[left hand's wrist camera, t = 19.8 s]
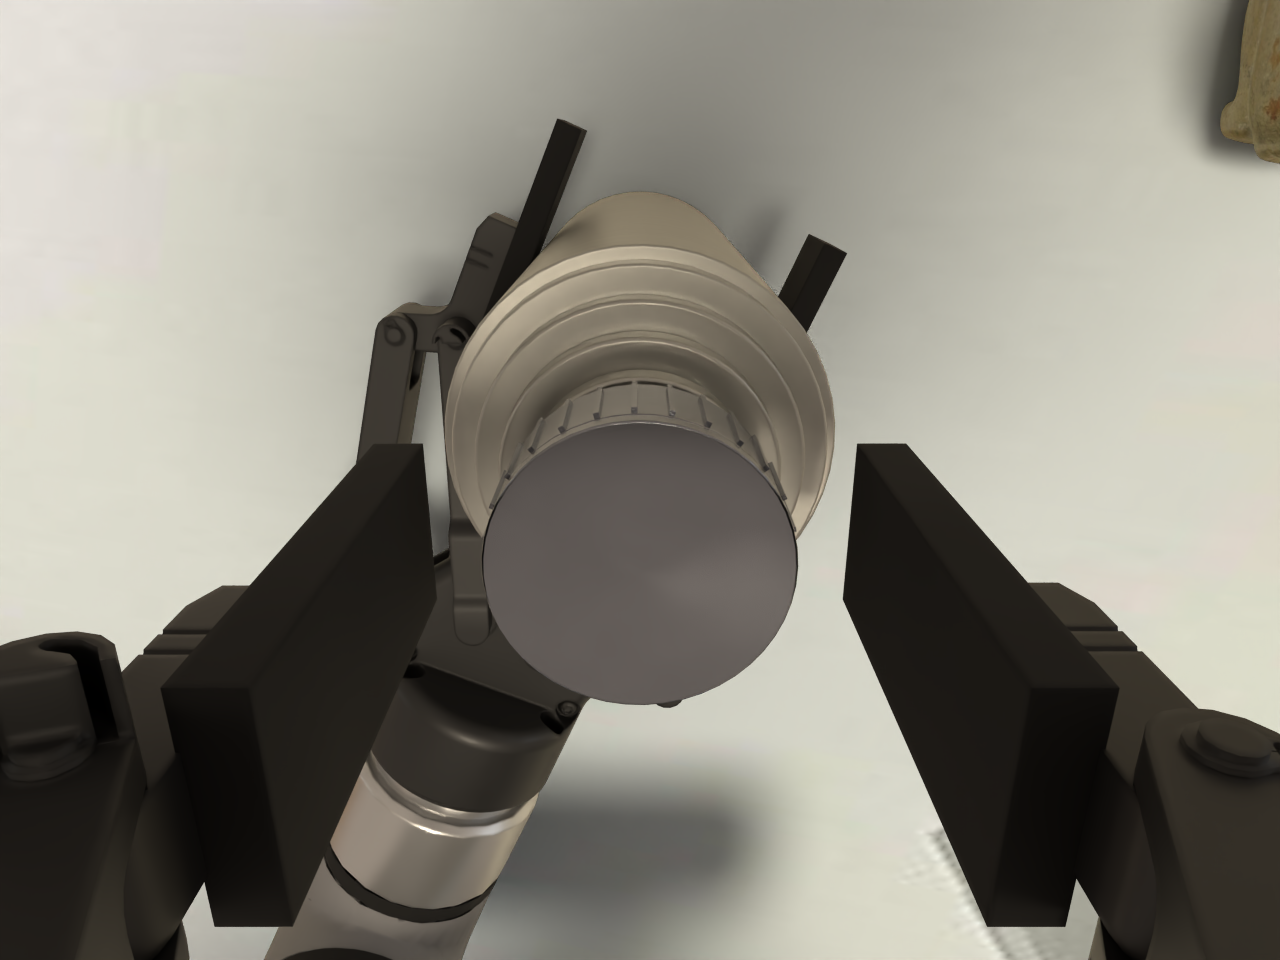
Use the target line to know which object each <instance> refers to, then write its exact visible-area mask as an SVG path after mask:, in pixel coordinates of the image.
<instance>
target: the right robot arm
mask: <svg viewBox="0 0 1280 960" xmlns="http://www.w3.org/2000/svg"><path fill="white" fill-rule="evenodd" d="M586 132H587V131H586V130H584V129H582V128H580V127H578V126H576V125H573V124H571V123H569V122H567V121H565V120H561V119H557V121H556V124H555V126H554V129H553V132H552V134H551V137H550V140H549V142H548V145H547V148H546V150H545V153H544V156H543V158H542V161H541V164H540V166H539V169H538V172H537V174H536V177H535V180H534V182H533V185H532V188H531V190H530V193H529V196H528V198H527V201H526V204H525V206H524V209H523V212H522V214H521V217H520V220H519V222H516V221H514V220H512V219H510V218H507V217H505V216H503V215H501V214H498V213H496V212H495V213H493V214H491V215H489V216H488V217H487V218H486V219H485V220H484V221H483V222H482V224H481V225H480V226H479V227H478V228H477V229H476V232H475V235H474V238H473V241H472V243H471V247H470V249H469V252H468V255H467V257H466V260H465V263H464V266H463V268H462V271H461V274H460V277H459V280H458V282H457V285H456V288H455V291H454V294H453V296H452V299H451V301H450V303H449V305H446V306H440V307H435V306H422V305H420V304H418V303H410V302H409V303H406V304H403V305H402V306H400V307H399V308H397V309H396V310H394V311H393V312H391V313H390V314H389V315H387V316H386V317H384V318H383V319H382V320H381V321H380V322H379V323H378V325H377V328H376V331H375V338H374V345H373V351H372V358H371V365H370V372H369V379H368V386H367V393H366V400H365V406H364V413H363V420H362V427H361V434H360V441H359V448H358V455H357V461H356V464H357V462H358V461H359V460H360V459H361V458H362V457H363V456H364V454H365V453H366V452H367V451H368V450H369V449H370V448H371V446H372V445H373V444H411V440H412V434H413V428H414V422H415V416H416V410H417V404H418V398H419V392H420V386H421V380H422V374H423V368H424V362H425V356H426V352H437V353H438V361H439V374H440V387H441V400H442V413H443V426H444V439H445V413H446V406H447V399H448V392H449V389H450V385H451V382H452V378H453V375H454V372H455V368H456V366H457V364H458V361H459V359H460V357H461V355H462V352H463V350H464V348H465V346H466V344H467V342H468V341H469V339H470V338H471V336H472V334H473V333H474V331H475V330H476V328H477V326H478V325H479V323H480V322H481V321H482V320H483V319H484V317H485V316H486V315H487V314H488V313H489V311H490V310H491V309H492V308H493V307H494V306H495V304H496V303H497V302H498V301H499V300H500V299H501V297H502V296H503V295H504V294H505V293H506V292H507V291H508V289H509V288H510V287H511V286H512V285H513V284H514V283H515V281H516V280H517V279H518V278H519V277H520V276H521V275H522V274H523V272H524V271H525V270H526V269H527V268H528V267H529V266H530V264H531V263H532V262H533V261H534V260H535V259H536V258H537V256H538V255H539V254H540V251H541V249H542V246H543V243H544V241H545V238H546V236H547V233H548V230H549V228H550V225H551V223H552V220H553V218H554V215H555V212H556V210H557V207H558V205H559V202H560V199H561V197H562V194H563V192H564V189H565V186H566V184H567V181H568V179H569V176H570V174H571V171H572V168H573V166H574V163H575V161H576V158H577V155H578V153H579V150H580V148H581V145H582V143H583V140H584V137H585V135H586ZM846 254H847V253H846V252H844V251H842V250H840V249H838V248H836V247H835V246H833V245H831V244H829V243H827V242H825V241H823V240H821V239H818V238H816V237H814V236H812V235H810V234H809V235H808V237H807V239H806V241H805V243H804V245H803V247H802V249H801V251H800V253H799V255H798V257H797V259H796V261H795V263H794V265H793V267H792V269H791V271H790V273H789V275H788V277H787V279H786V282H785V284H784V286H783V288H782V290H781V292H780V294H779V296H778V298H779V299H780V300H781V301H782V302H783V303H784V304H785V305H786V307H787V308H788V309H789V310H790V312H791V313H792V314H793V315H794V317H795V318H796V319H797V320H798V322H799V323H800V324H801V326H802V327H803V328H804V330H805V331H806V333H807V331H808V329H809V327H810V325H811V323H812V321H813V319H814V317H815V315H816V313H817V311H818V309H819V308H820V306H821V304H822V302H823V300H824V298H825V296H826V294H827V292H828V290H829V288H830V286H831V284H832V282H833V280H834V278H835V276H836V274H837V272H838V270H839V268H840V266H841V264H842V262H843V260H844V258H845V256H846ZM445 452H446V445H445ZM446 466H447V479H448V492H449V505H450V527H449V548H448V549H447V550H445V551H443V552H441V553H439V554H438V555H436V556H434V557H433V560H434V571H435V581H436V592H437V601H436V603H435V605H434V608H433V610H432V612H431V614H430V617H429V619H428V621H427V623H426V626H425V628H424V630H423V633H422V635H421V637H420V639H419V642H418V644H417V646H416V648H415V651H414V653H413V655H412V658H411V660H410V662H409V664H408V667H407V669H406V671H405V673H404V676H403V678H402V680H401V682H400V685H399V687H398V689H397V692H396V694H395V696H394V698H393V701H392V703H391V705H390V707H389V710H388V712H387V714H386V716H385V719H384V721H383V723H382V726H381V728H380V730H379V732H378V735H377V737H376V739H375V741H374V744H373V746H372V748H371V750H370V753H369V755H368V757H367V760H366V762H365V764H364V766H363V769H362V771H361V773H360V775H359V778H358V780H357V782H356V784H355V787H354V789H353V791H352V794H351V796H350V798H349V800H348V803H347V805H346V807H345V809H344V812H343V814H342V816H341V818H340V821H339V823H338V825H337V828H336V830H335V832H334V834H333V837H332V839H331V841H330V843H329V846H328V848H327V850H326V852H325V855H324V857H323V859H322V862H321V864H320V866H319V868H318V871H317V873H316V875H315V877H314V880H313V882H312V884H311V886H310V889H309V891H308V893H307V896H306V898H305V900H304V902H303V905H302V907H301V909H300V911H299V914H298V916H297V918H296V920H295V923H294V925H293V927H279V928H278V930H277V932H276V935H275V937H274V939H273V941H272V943H271V945H270V948H269V950H268V952H267V954H266V956H265V959H264V960H462V958H463V955H464V952H465V949H466V946H467V943H468V941H469V938H470V936H471V934H472V931H473V929H474V927H475V925H476V923H477V920H478V918H479V916H480V914H481V912H482V909H483V907H484V905H485V903H486V901H487V899H488V896H489V894H490V892H491V890H492V888H493V887H494V885H495V883H496V881H497V879H498V877H499V875H500V873H501V871H502V869H503V867H504V866H505V864H506V862H507V860H508V858H509V856H510V854H511V852H512V850H513V848H514V846H515V844H516V842H517V840H518V838H519V836H520V834H521V832H522V830H523V828H524V826H525V824H526V822H527V820H528V818H529V817H530V815H531V813H532V811H533V809H534V807H535V804H536V801H537V798H538V795H539V791H540V790H541V789H542V788H543V786H544V785H545V783H546V781H547V779H548V777H549V775H550V773H551V771H552V769H553V767H554V765H555V763H556V761H557V759H558V757H559V755H560V753H561V751H562V749H563V747H564V745H565V743H566V741H567V738H568V736H569V734H570V732H571V730H572V728H573V726H574V724H575V722H576V720H577V718H578V716H579V714H580V712H581V710H582V708H583V706H584V705H585V703H586V702H587V701H588V700H589V699H590V697H586V696H584V695H581V694H578V693H576V692H573V691H571V690H568V689H566V688H564V687H563V686H561V685H559V684H557V683H555V682H553V681H551V680H550V679H548V678H547V677H545V676H544V675H542V674H541V673H540V672H538V671H537V670H535V669H534V668H533V667H532V666H531V665H530V664H529V663H527V662H526V661H525V660H524V659H523V658H522V657H521V656H520V655H519V654H518V652H517V651H516V650H515V649H514V648H513V647H512V646H511V645H510V643H509V642H508V640H507V639H506V637H505V636H504V634H503V633H502V631H501V630H500V628H499V626H498V624H497V622H496V620H495V618H494V616H493V614H492V612H491V610H490V607H489V604H488V601H487V598H486V595H485V589H484V584H483V578H482V561H481V556H482V547H483V541H482V537H481V536H480V535H479V533H478V532H477V531H476V529H475V528H474V526H473V524H472V523H471V521H470V519H469V518H468V516H467V514H466V512H465V511H464V509H463V506H462V504H461V502H460V499H459V497H458V495H457V492H456V490H455V488H454V484H453V480H452V477H451V473H450V469H449V466H448V460H447V452H446ZM681 701H682V700H678V701H673V702H668V703H661V704H657V705H658V706H661V707H664V708H671V707H674V706H677V705H678V704H679V703H680V702H681Z"/></svg>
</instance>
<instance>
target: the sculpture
mask: <svg viewBox="0 0 1280 960" xmlns="http://www.w3.org/2000/svg"><path fill="white" fill-rule="evenodd" d="M1220 127H1221V132H1222V133H1223V135H1224V136H1225V137H1227V138H1229V139H1232V140H1235V141H1239V142H1243V143H1250V144H1254V149H1255V152H1256V154H1257V156H1258V157H1259V158H1261V159H1263V160H1265V161H1269V162H1274V163H1279V164H1280V0H1249V3H1248V7H1247V11H1246V16H1245V22H1244V29H1243V36H1242V45H1241V61H1240V75H1239V86H1238V90H1237V94H1236V97H1235V99H1234V101H1232V102H1229V103H1228V104H1227V105H1226V106H1225V107H1224V109H1223V111H1222V113H1221V120H1220Z"/></svg>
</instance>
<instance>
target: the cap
mask: <svg viewBox="0 0 1280 960" xmlns="http://www.w3.org/2000/svg"><path fill="white" fill-rule="evenodd" d="M785 500H787V496H786V494H785V491H784V489H783V487H782V484H781V482H780V479H779V477H778V474H777V472H776V470H775V467H774V465H773V462H770V463H768V461H767V459H766V457H765V455H764V453H763V450H762V448H761V445H760V443H759V440H758V438H757V436H756V435H755V434H754V435H753V436H751V435H750V433H749V432H748V431H747V430H746V429H745V428H744V427H743V426H742V425H741V424H740V423H739V422H738V421H737V420H736V417H735V414H734V413H732V412H731V411H730V412H729V413H727V412H726V411H724V410H723V409H721V408H719V407H718V406H716V405H714V404H713V403H711V402H710V401H708V400H706V396H704V395H702V394H701V395H700V397H699V396H696V395H694V394H692V393H689V392H685V391H682V390H678V389H675V388H673V385H670V384H667V387H664V386H658V385H641V384H638V382H637V381H636V382H632V385H623V386H614V387H610V388H605V389H603V386H600V387H597V391H594V392H591V393H589V394H586V395H583V396H580V397H578V398H576V399H574V400H572V401H571V399H570V398H569V399H567V400H565V403H564V405H563V406H561V407H560V408H559V409H557V410H556V411H554V412H553V413H551V414H550V415H549V416H547V417H546V418H545V419H543V418H542V417H541V418H540V419H539V420H538V421H537V424H536V427H535V428H534V429H533V431H532V432H531V433H530V434H529V436H528V437H527V438H526V439H525V441H524V442H523V443H521V442H519V443H518V444H517V446H516V448H515V451H514V453H513V456H512V458H511V460H510V463H509V465H508V468H507V470H504V471H503V474H502V476H501V478H500V481H499V483H498V486H497V488H496V491H495V493H494V495H493V498H492V500H491V503H490V505H489V509H492V512H491V515H490V517H489V520H488V523H487V526H486V529H485V531H484V534H483V536H482V541H483V547H482V556H481V561H482V578H483V584H484V589H485V595H486V598H487V601H488V604H489V607H490V610H491V612H492V614H493V616H494V618H495V620H496V622H497V624H498V626H499V628H500V630H501V631H502V633H503V634H504V636H505V637H506V639H507V640H508V642H509V643H510V645H511V646H512V647H513V648H514V649H515V650H516V651H517V652H518V654H519V655H520V656H521V657H522V658H523V659H524V660H525V661H526V662H527V663H529V664H530V665H531V666H532V667H533V668H534V669H535V670H537V671H538V672H540V673H541V674H542V675H544V676H545V677H547V678H548V679H550V680H551V681H553V682H555V683H557V684H559V685H561V686H563V687H564V688H566V689H568V690H571V691H573V692H576V693H578V694H581V695H584V696H586V697H590V698H594V699H598V700H602V701H605V702H612V703H619V704H631V705H649V704H661V703H668V702H673V701H678V700H683V699H686V698H689V697H693V696H696V695H699V694H702V693H704V692H706V691H709V690H711V689H713V688H715V687H717V686H720V685H721V684H723V683H725V682H726V681H728V680H730V679H731V678H733V677H735V676H736V675H737V674H739V673H740V672H741V671H742V670H744V669H745V668H746V667H748V666H749V665H750V664H751V663H752V662H753V661H754V660H755V659H756V658H757V657H758V656H759V655H760V654H761V653H762V652H763V651H764V650H765V649H766V647H767V646H768V645H769V644H770V642H771V641H772V640H773V638H774V637H775V636H776V634H777V632H778V630H779V629H780V627H781V625H782V624H783V622H784V620H785V618H786V615H787V613H788V610H789V608H790V606H791V603H792V599H793V596H794V592H795V588H796V582H797V573H798V549H797V543H796V537H795V532H797V531H796V526H795V524H794V521H793V519H792V516H791V514H790V511H789V509H788V506H787V504H786V501H785Z"/></svg>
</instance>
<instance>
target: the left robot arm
mask: <svg viewBox="0 0 1280 960" xmlns="http://www.w3.org/2000/svg"><path fill="white" fill-rule="evenodd" d="M436 601H437V592H436V581H435V571H434V560H433V549H432V538H431V527H430V517H429V506H428V495H427V484H426V473H425V463H424V452H423V444H373V445H372V446H371V448H370V449H369V450H368V451H367V452H366V453H365V454H364V456H363V457H362V458H361V459H360V460H359V461H358V462H357V464H356V465H355V466H354V467H353V468H352V469H351V470H350V472H349V473H348V474H347V475H346V476H345V477H344V478H343V480H342V481H341V482H340V483H339V484H338V485H337V486H336V488H335V489H334V490H333V491H332V492H331V493H330V494H329V496H328V497H327V498H326V499H325V500H324V501H323V502H322V504H321V505H320V506H319V507H318V508H317V509H316V510H315V512H314V513H313V514H312V515H311V516H310V517H309V518H308V520H307V521H306V522H305V523H304V524H303V525H302V526H301V528H300V529H299V530H298V531H297V532H296V533H295V534H294V536H293V537H292V538H291V539H290V540H289V541H288V542H287V544H286V545H285V546H284V547H283V548H282V549H281V550H280V552H279V553H278V554H277V555H276V556H275V557H274V558H273V560H272V561H271V562H270V563H269V564H268V565H267V566H266V568H265V569H264V570H263V571H262V572H261V573H260V574H259V576H258V577H257V578H256V579H255V580H254V581H253V582H252V584H251V585H250V586H221V587H219V588H217V589H216V590H214V591H212V592H210V593H208V594H207V595H205V596H203V597H201V598H199V599H198V600H196V601H194V602H192V603H191V604H189V605H187V606H186V607H185V608H184V609H183V610H182V611H181V612H180V613H179V614H178V615H177V616H176V617H175V618H174V619H173V620H172V621H171V622H170V623H169V624H168V625H167V626H166V627H165V628H164V629H163V634H162V635H157V636H156V637H155V638H154V639H153V640H152V642H151V643H150V644H149V645H148V646H147V647H146V648H145V649H144V653H143V655H138V656H137V657H136V658H135V659H134V660H133V661H132V662H131V663H130V664H129V665H128V666H127V667H126V668H125V669H124V670H123V671H122V672H121V668H120V664H119V660H118V656H117V652H116V648H115V644H113V643H112V642H110V641H109V640H107V639H106V638H104V637H103V636H101V635H97V634H90V633H84V632H63V633H49V634H43V635H38V636H34V637H29V638H25V639H21V640H16V641H12V642H9V643H7V644H4V645H1V646H0V960H189V951H188V945H187V938H186V934H185V930H184V926H183V922H182V919H183V917H184V916H185V914H186V912H187V910H188V909H189V907H190V905H191V904H192V902H193V900H194V898H195V897H196V895H197V893H198V892H199V890H200V888H201V887H202V885H203V883H204V882H205V887H206V891H207V895H208V900H209V904H210V909H211V913H212V917H213V922H214V926H215V927H293V925H294V923H295V920H296V918H297V916H298V914H299V911H300V909H301V907H302V905H303V902H304V900H305V898H306V896H307V893H308V891H309V889H310V886H311V884H312V882H313V880H314V877H315V875H316V873H317V871H318V868H319V866H320V864H321V862H322V859H323V857H324V855H325V852H326V850H327V848H328V846H329V843H330V841H331V839H332V837H333V834H334V832H335V830H336V828H337V825H338V823H339V821H340V818H341V816H342V814H343V812H344V809H345V807H346V805H347V803H348V800H349V798H350V796H351V794H352V791H353V789H354V787H355V784H356V782H357V780H358V778H359V775H360V773H361V771H362V769H363V766H364V764H365V762H366V760H367V757H368V755H369V753H370V750H371V748H372V746H373V744H374V741H375V739H376V737H377V735H378V732H379V730H380V728H381V726H382V723H383V721H384V719H385V716H386V714H387V712H388V710H389V707H390V705H391V703H392V701H393V698H394V696H395V694H396V692H397V689H398V687H399V685H400V682H401V680H402V678H403V676H404V673H405V671H406V669H407V667H408V664H409V662H410V660H411V658H412V655H413V653H414V651H415V648H416V646H417V644H418V642H419V639H420V637H421V635H422V633H423V630H424V628H425V626H426V623H427V621H428V619H429V617H430V614H431V612H432V610H433V608H434V605H435V603H436ZM843 601H844V603H845V605H846V608H847V610H848V612H849V614H850V617H851V619H852V621H853V624H854V626H855V628H856V630H857V633H858V635H859V637H860V639H861V642H862V644H863V646H864V648H865V651H866V653H867V655H868V658H869V660H870V662H871V664H872V667H873V669H874V671H875V673H876V676H877V678H878V680H879V682H880V685H881V687H882V689H883V692H884V694H885V696H886V698H887V701H888V703H889V705H890V707H891V710H892V712H893V714H894V716H895V719H896V721H897V723H898V726H899V728H900V730H901V732H902V735H903V737H904V739H905V741H906V744H907V746H908V748H909V750H910V753H911V755H912V757H913V760H914V762H915V764H916V766H917V769H918V771H919V773H920V775H921V778H922V780H923V782H924V784H925V787H926V789H927V791H928V794H929V796H930V798H931V800H932V803H933V805H934V807H935V809H936V812H937V814H938V816H939V818H940V821H941V823H942V825H943V828H944V830H945V832H946V834H947V837H948V839H949V841H950V843H951V846H952V848H953V850H954V852H955V855H956V857H957V859H958V862H959V864H960V866H961V868H962V871H963V873H964V875H965V877H966V880H967V882H968V884H969V886H970V889H971V891H972V893H973V896H974V898H975V900H976V902H977V905H978V907H979V909H980V911H981V914H982V916H983V918H984V920H985V923H986V925H987V927H1065V926H1066V922H1067V917H1068V913H1069V909H1070V904H1071V900H1072V895H1073V891H1074V887H1075V882H1076V879H1077V880H1078V882H1079V884H1080V885H1081V887H1082V889H1083V890H1084V892H1085V894H1086V895H1087V897H1088V899H1089V901H1090V902H1091V904H1092V906H1093V907H1094V909H1095V911H1096V912H1097V914H1098V916H1099V918H1098V922H1097V926H1096V930H1095V934H1094V938H1093V942H1092V946H1091V951H1090V955H1089V959H1088V960H1280V734H1279V733H1277V732H1275V731H1272V730H1270V729H1268V728H1266V727H1263V726H1261V725H1259V724H1257V723H1254V722H1252V721H1250V720H1248V719H1245V718H1241V717H1238V716H1234V715H1230V714H1226V713H1222V712H1219V711H1215V710H1207V709H1198V708H1197V707H1196V706H1195V705H1194V704H1193V703H1192V702H1191V701H1190V700H1189V699H1188V698H1187V697H1186V696H1185V695H1184V694H1183V693H1182V692H1181V691H1180V690H1179V688H1178V687H1177V686H1176V685H1175V684H1174V683H1173V682H1172V681H1171V680H1170V679H1169V678H1168V677H1167V676H1166V675H1165V674H1164V673H1163V672H1162V671H1161V670H1160V669H1159V668H1158V667H1157V666H1156V665H1155V664H1154V663H1153V662H1152V661H1151V660H1150V659H1149V658H1148V657H1147V656H1146V655H1145V654H1144V653H1143V652H1142V651H1137V646H1136V645H1135V644H1134V643H1133V642H1132V641H1131V640H1130V639H1129V638H1128V636H1127V635H1126V634H1125V633H1124V632H1123V631H1118V626H1117V625H1116V624H1115V623H1114V622H1113V621H1112V620H1111V619H1110V618H1109V617H1108V616H1107V615H1106V614H1105V613H1104V612H1103V611H1102V610H1101V609H1100V608H1099V607H1098V606H1097V605H1096V604H1095V603H1094V602H1092V601H1090V600H1088V599H1087V598H1085V597H1083V596H1081V595H1079V594H1078V593H1076V592H1074V591H1072V590H1070V589H1069V588H1067V587H1065V586H1063V585H1061V584H1060V583H1028V582H1027V581H1026V580H1025V579H1024V578H1023V577H1022V576H1021V574H1020V573H1019V572H1018V571H1017V570H1016V569H1015V568H1014V566H1013V565H1012V564H1011V563H1010V562H1009V561H1008V560H1007V558H1006V557H1005V556H1004V555H1003V554H1002V553H1001V552H1000V550H999V549H998V548H997V547H996V546H995V545H994V544H993V542H992V541H991V540H990V539H989V538H988V537H987V536H986V534H985V533H984V532H983V531H982V530H981V529H980V528H979V526H978V525H977V524H976V523H975V522H974V521H973V520H972V518H971V517H970V516H969V515H968V514H967V513H966V512H965V510H964V509H963V508H962V507H961V506H960V505H959V504H958V502H957V501H956V500H955V499H954V498H953V497H952V496H951V494H950V493H949V492H948V491H947V490H946V489H945V488H944V486H943V485H942V484H941V483H940V482H939V481H938V480H937V478H936V477H935V476H934V475H933V474H932V473H931V472H930V470H929V469H928V468H927V467H926V466H925V465H924V464H923V462H922V461H921V460H920V459H919V458H918V457H917V456H916V454H915V453H914V452H913V451H912V450H911V449H910V448H909V446H908V445H907V444H857V452H856V463H855V473H854V484H853V495H852V506H851V517H850V527H849V538H848V549H847V560H846V571H845V581H844V592H843Z"/></svg>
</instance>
